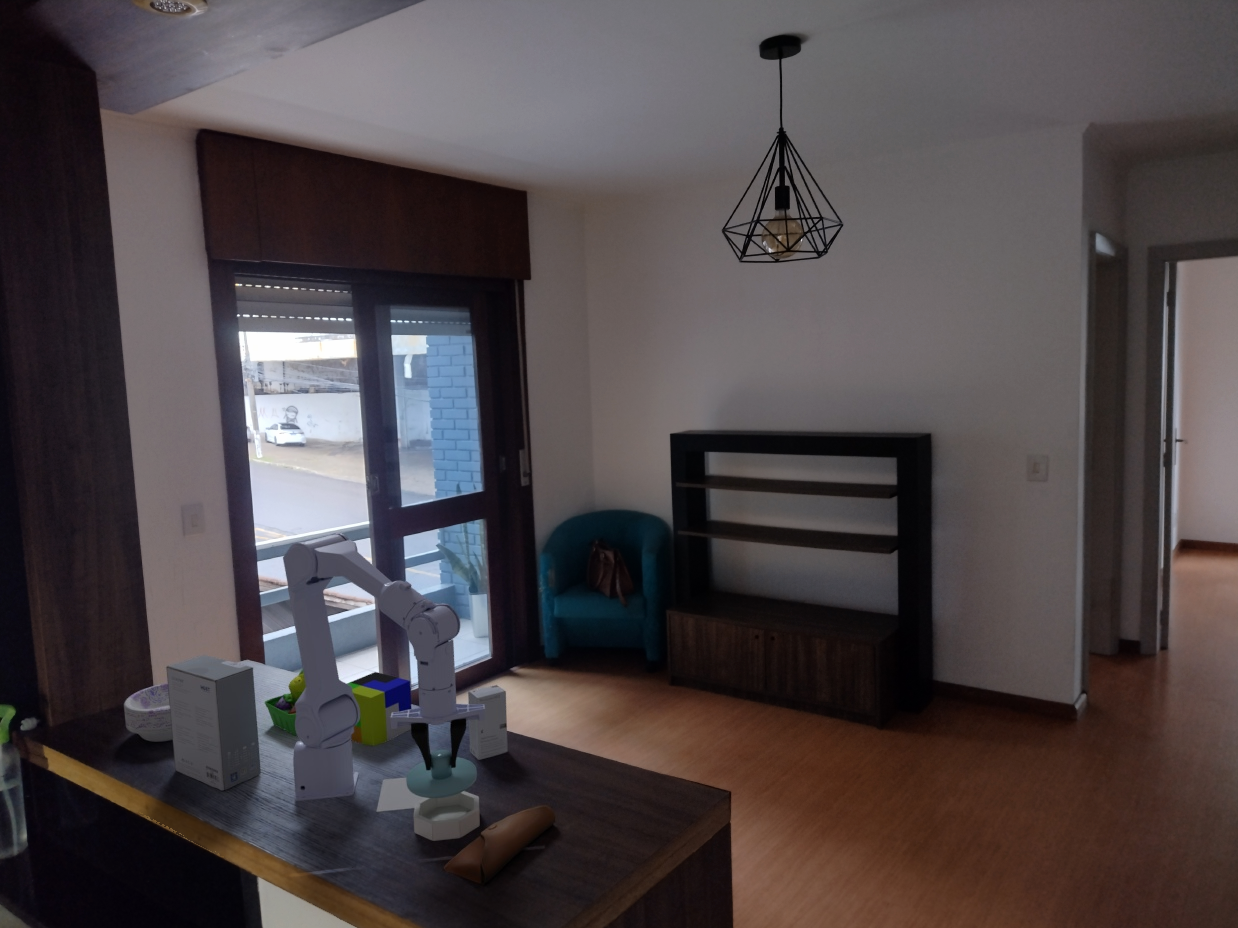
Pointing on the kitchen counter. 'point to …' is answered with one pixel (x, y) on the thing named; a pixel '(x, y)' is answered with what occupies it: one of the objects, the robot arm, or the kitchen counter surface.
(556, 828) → the kitchen counter surface
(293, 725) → the fruit basket
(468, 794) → the bowl
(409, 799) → the plate
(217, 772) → the hard drive box
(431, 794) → the lid
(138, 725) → the paper bowls
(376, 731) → the puzzle toy
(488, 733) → the skincare box
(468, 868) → the sunglasses case
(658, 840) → the kitchen counter surface
